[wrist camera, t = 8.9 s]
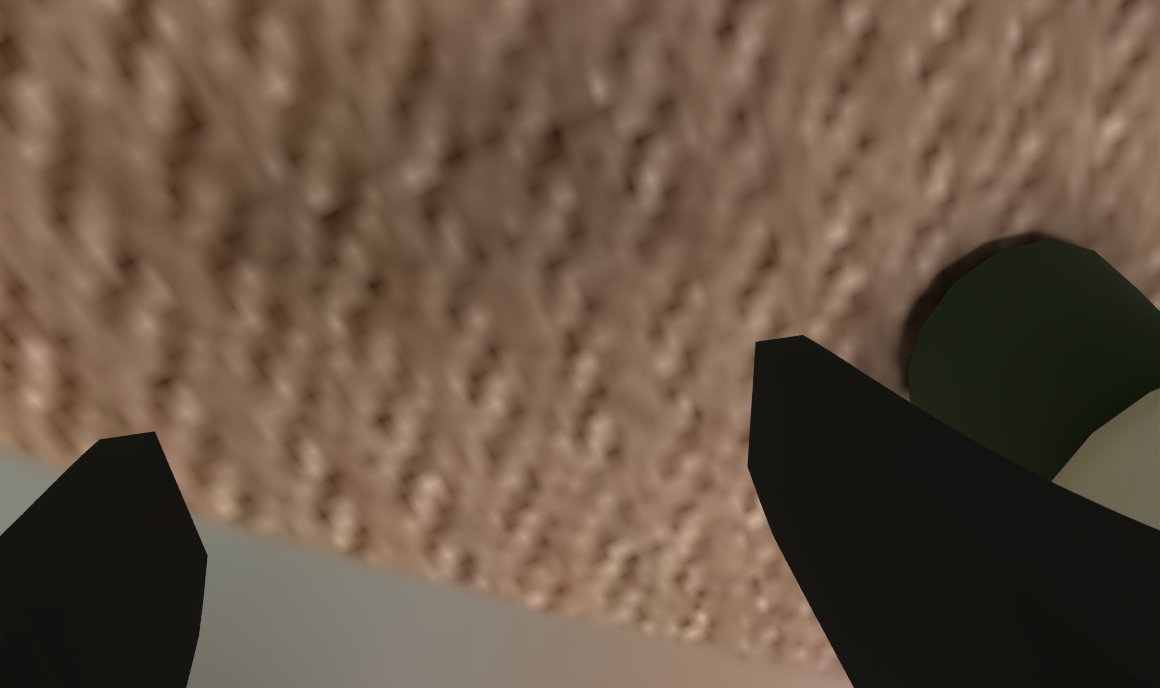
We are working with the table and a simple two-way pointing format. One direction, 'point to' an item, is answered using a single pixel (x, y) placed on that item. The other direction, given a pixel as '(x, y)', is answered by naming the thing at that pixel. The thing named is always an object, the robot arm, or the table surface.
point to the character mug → (1051, 372)
